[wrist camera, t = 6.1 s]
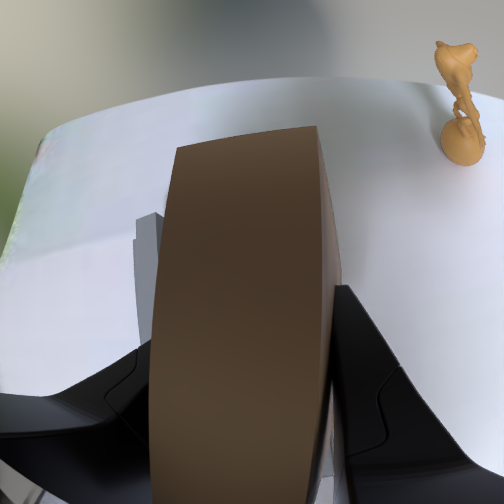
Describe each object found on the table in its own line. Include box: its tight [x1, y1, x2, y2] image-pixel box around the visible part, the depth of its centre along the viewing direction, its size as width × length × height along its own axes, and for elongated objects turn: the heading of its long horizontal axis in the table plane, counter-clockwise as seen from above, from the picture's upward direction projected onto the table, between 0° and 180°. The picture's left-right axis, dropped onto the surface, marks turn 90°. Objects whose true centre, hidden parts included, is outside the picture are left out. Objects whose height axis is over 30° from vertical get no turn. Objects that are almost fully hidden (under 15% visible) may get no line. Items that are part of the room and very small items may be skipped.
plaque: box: [149, 126, 341, 504], centre depth 9 cm, size 7×2×11 cm, turn 177°
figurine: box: [435, 41, 486, 166], centre depth 15 cm, size 8×6×12 cm
